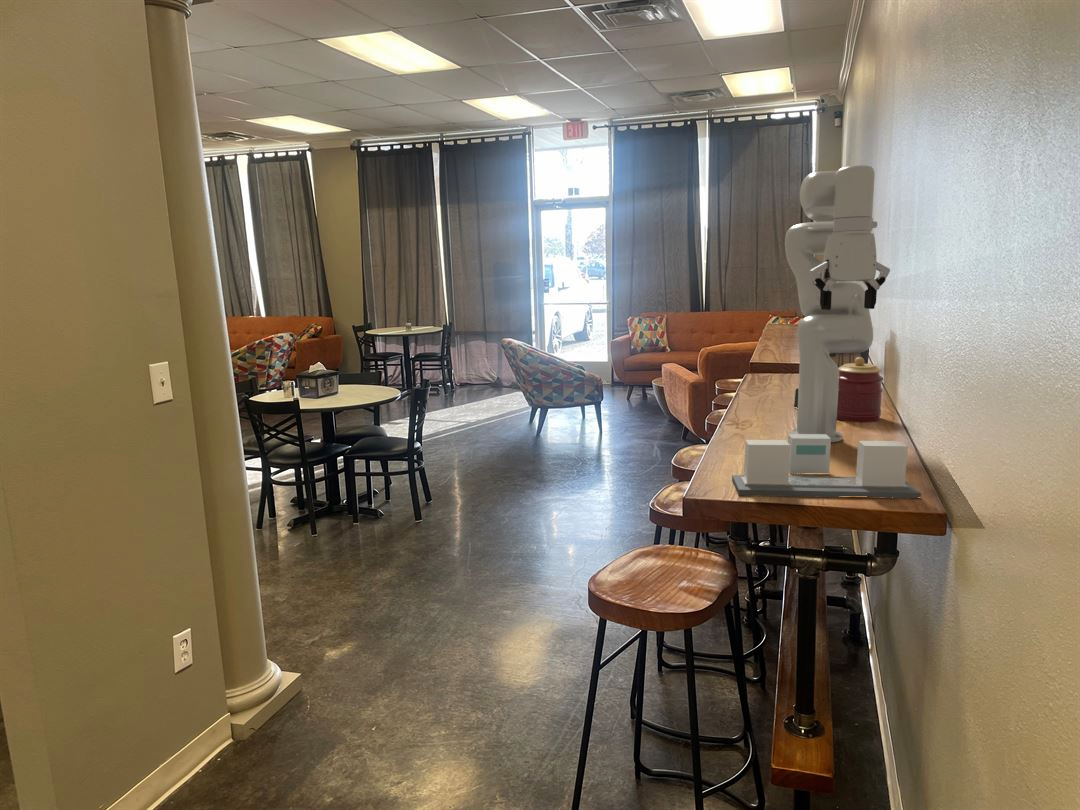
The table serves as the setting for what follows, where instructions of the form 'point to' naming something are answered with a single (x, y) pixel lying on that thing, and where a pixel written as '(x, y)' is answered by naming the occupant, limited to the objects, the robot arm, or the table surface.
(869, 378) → the canister
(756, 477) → the mounted modules
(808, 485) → the metal rail
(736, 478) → the rail board
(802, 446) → the block
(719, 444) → the table surface
